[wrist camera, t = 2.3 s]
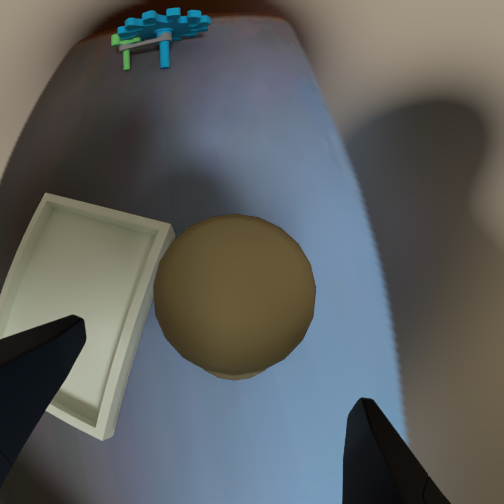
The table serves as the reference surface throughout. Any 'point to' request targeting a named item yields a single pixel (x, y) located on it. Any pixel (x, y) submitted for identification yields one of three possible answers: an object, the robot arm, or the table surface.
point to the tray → (87, 297)
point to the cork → (234, 295)
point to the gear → (157, 32)
